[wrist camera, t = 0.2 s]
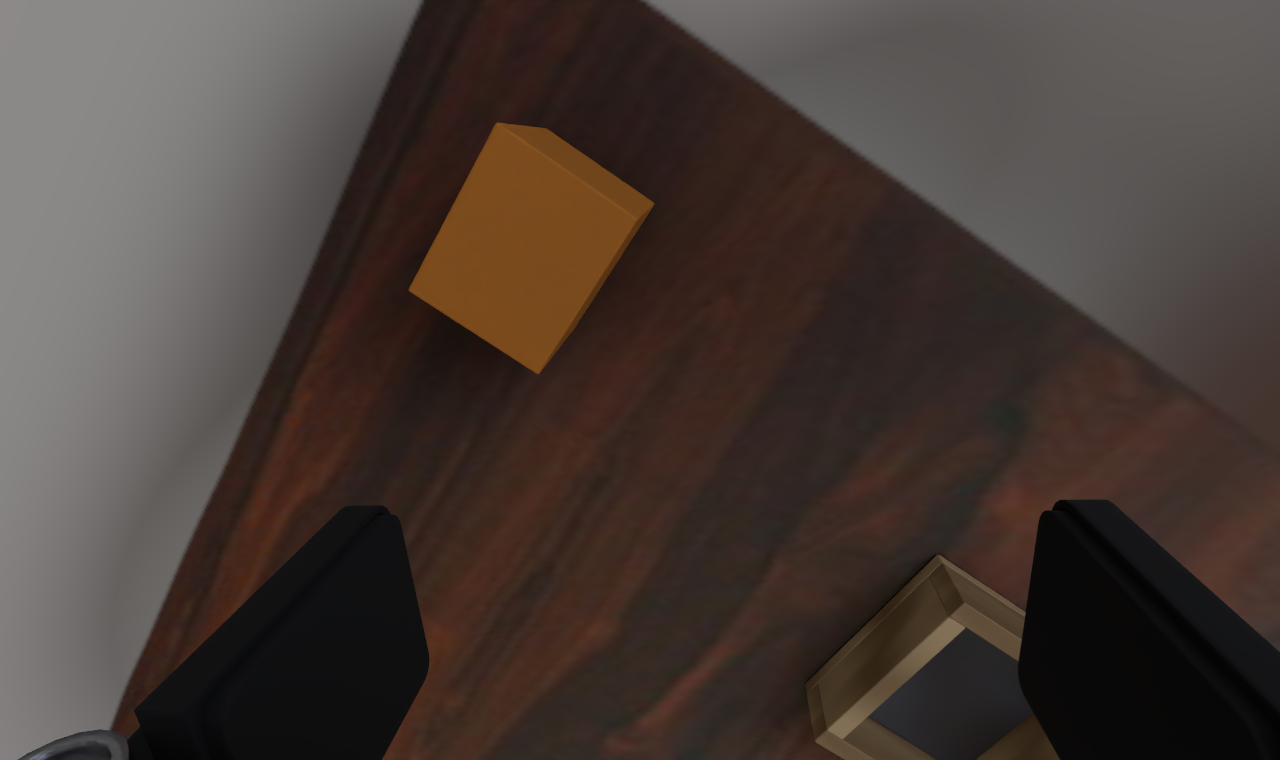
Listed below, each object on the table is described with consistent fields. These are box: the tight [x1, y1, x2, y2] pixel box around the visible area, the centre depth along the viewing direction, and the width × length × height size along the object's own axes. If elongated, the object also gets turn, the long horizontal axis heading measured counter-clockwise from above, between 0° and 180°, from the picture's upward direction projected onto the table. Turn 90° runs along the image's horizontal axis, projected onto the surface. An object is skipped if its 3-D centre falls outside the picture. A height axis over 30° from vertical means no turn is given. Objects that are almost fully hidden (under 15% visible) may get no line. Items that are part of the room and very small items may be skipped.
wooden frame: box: [805, 555, 1060, 760], centre depth 27 cm, size 9×16×3 cm, turn 57°
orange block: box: [409, 123, 654, 374], centre depth 21 cm, size 6×5×6 cm
